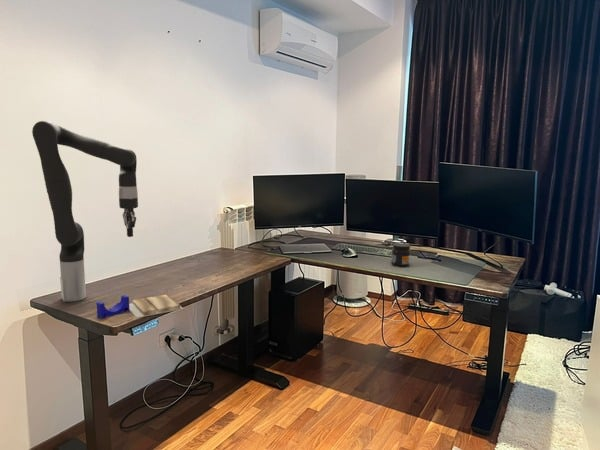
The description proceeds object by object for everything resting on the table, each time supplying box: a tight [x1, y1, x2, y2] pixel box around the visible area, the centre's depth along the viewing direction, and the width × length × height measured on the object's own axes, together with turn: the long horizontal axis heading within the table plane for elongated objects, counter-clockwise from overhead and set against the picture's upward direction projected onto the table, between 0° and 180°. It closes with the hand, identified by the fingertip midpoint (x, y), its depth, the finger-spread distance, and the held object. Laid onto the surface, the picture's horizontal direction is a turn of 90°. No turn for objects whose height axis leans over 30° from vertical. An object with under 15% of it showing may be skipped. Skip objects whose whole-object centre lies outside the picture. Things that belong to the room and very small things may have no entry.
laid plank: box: [131, 297, 157, 315], centre depth 191 cm, size 5×16×2 cm, turn 35°
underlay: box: [129, 302, 184, 319], centre depth 193 cm, size 19×17×1 cm
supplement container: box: [391, 242, 412, 268], centre depth 267 cm, size 10×10×12 cm
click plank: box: [145, 294, 181, 313], centre depth 195 cm, size 9×16×2 cm, turn 35°
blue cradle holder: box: [96, 294, 130, 319], centre depth 185 cm, size 12×4×6 cm, turn 141°
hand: (130, 236), depth 202 cm, fingers closed
